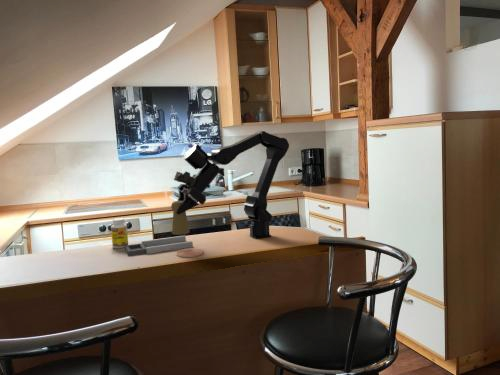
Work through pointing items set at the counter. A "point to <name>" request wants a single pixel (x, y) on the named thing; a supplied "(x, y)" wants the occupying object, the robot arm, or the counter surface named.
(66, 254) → the counter surface
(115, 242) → the supplement bottle
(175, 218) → the cork
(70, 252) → the counter surface
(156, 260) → the counter surface
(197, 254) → the coaster
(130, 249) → the trap box
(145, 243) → the guide channel
